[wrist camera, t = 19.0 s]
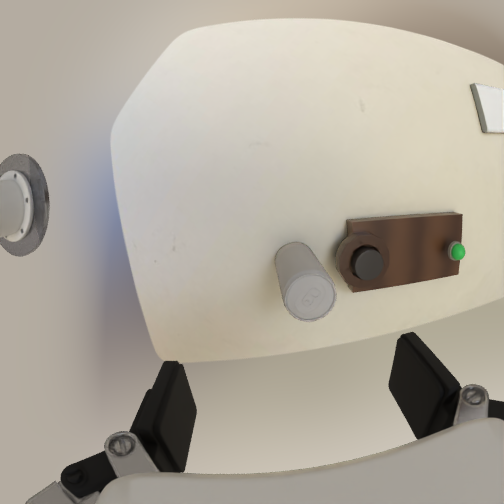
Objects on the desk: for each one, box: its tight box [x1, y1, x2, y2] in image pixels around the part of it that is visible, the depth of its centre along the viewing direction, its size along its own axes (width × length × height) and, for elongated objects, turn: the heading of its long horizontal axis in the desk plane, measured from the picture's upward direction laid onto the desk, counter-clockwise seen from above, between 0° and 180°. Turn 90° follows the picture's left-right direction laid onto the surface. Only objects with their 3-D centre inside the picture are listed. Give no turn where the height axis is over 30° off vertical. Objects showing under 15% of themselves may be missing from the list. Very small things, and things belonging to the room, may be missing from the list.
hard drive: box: [471, 83, 504, 133], centre depth 27 cm, size 2×8×12 cm
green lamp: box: [448, 241, 465, 261], centre depth 29 cm, size 3×3×2 cm
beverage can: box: [275, 242, 336, 322], centre depth 29 cm, size 5×5×12 cm
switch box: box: [336, 212, 462, 293], centre depth 33 cm, size 20×9×4 cm, turn 96°
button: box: [351, 247, 383, 280], centre depth 30 cm, size 4×4×2 cm
